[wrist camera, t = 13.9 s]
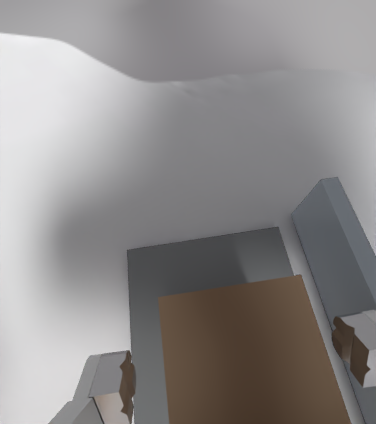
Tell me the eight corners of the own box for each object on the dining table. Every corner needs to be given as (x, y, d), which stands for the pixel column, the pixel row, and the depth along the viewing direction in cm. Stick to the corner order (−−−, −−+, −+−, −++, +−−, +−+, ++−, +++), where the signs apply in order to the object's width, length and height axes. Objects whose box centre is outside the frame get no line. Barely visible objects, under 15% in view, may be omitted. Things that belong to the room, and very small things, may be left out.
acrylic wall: (304, 212, 19) (337, 177, 14) (439, 566, 11) (605, 733, 7) (291, 214, 19) (320, 179, 14) (417, 570, 11) (570, 742, 7)
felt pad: (275, 229, 18) (278, 226, 18) (357, 486, 12) (364, 493, 12) (129, 252, 18) (127, 250, 17) (141, 525, 12) (139, 534, 12)
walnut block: (253, 297, 16) (301, 274, 8) (276, 390, 14) (365, 467, 6) (177, 309, 16) (157, 297, 8) (188, 405, 13) (175, 501, 6)
